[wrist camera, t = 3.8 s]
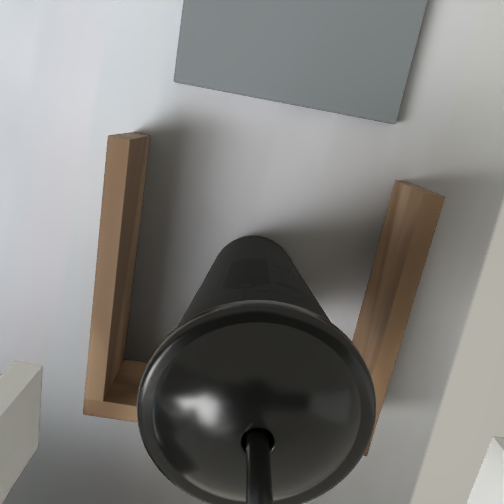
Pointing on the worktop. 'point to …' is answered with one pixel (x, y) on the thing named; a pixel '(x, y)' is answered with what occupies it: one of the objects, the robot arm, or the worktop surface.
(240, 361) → the drinking cup
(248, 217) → the worktop surface
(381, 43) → the mat
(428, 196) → the open wooden frame
